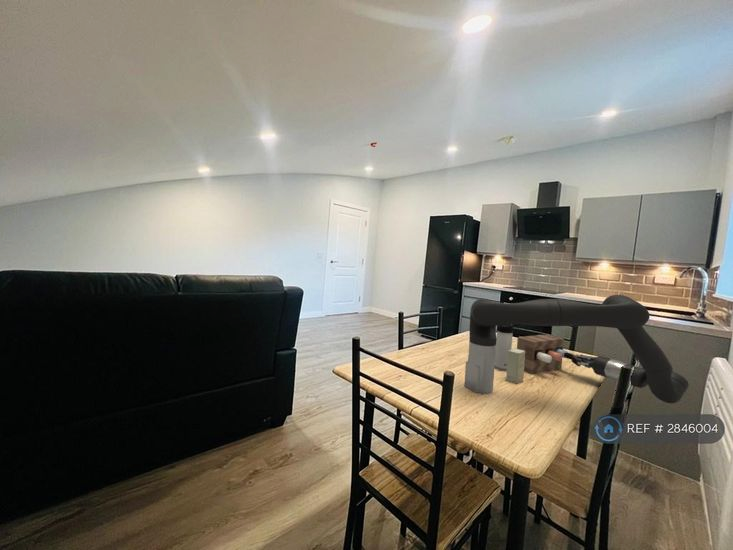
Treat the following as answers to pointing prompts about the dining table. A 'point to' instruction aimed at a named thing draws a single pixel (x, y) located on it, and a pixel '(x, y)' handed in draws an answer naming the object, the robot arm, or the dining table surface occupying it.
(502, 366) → the travel mug
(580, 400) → the dining table surface
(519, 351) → the skincare box
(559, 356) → the red key
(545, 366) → the box
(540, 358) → the white key
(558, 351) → the blue key
